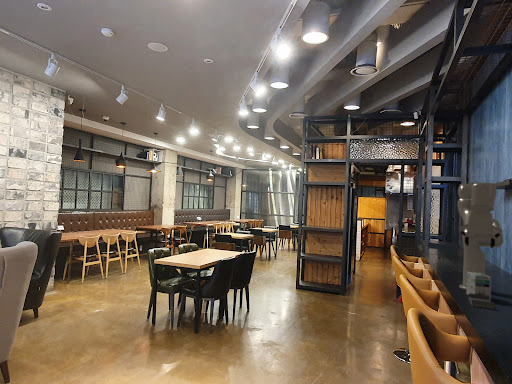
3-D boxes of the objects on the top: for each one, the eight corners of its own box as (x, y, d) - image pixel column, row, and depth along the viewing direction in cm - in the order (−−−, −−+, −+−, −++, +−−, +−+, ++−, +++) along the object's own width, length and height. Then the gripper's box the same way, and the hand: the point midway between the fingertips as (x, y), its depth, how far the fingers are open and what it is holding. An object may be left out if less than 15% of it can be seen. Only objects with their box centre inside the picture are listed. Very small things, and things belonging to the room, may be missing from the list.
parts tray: (468, 298, 158) (468, 293, 158) (488, 301, 155) (488, 295, 155) (471, 306, 145) (471, 299, 145) (493, 309, 142) (494, 302, 142)
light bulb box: (491, 301, 157) (492, 276, 157) (474, 299, 158) (475, 275, 158) (481, 295, 167) (481, 272, 168) (465, 294, 168) (466, 271, 169)
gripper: (501, 211, 164) (500, 248, 163) (458, 209, 172) (457, 244, 171) (504, 210, 157) (503, 249, 156) (459, 208, 165) (458, 245, 164)
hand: (479, 246), depth 163 cm, fingers open, 9 cm apart
